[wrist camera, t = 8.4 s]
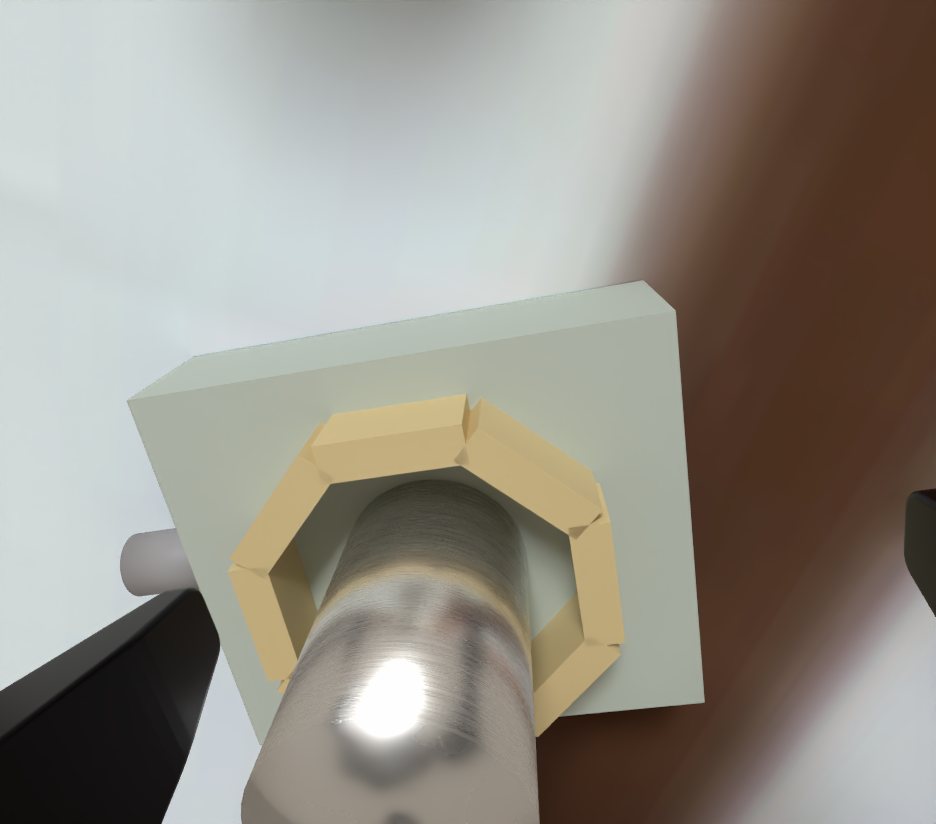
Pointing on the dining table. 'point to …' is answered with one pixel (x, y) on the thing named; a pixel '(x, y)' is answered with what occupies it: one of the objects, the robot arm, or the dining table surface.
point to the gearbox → (441, 458)
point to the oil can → (411, 676)
